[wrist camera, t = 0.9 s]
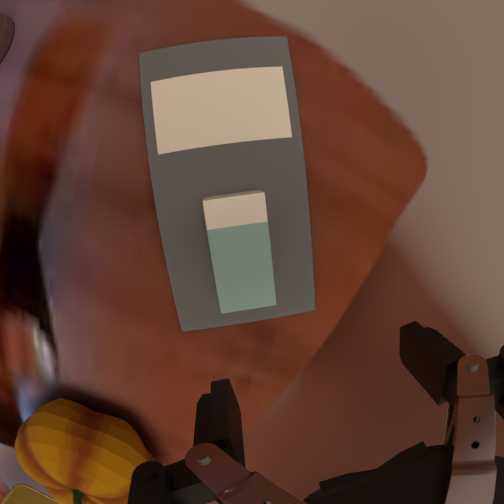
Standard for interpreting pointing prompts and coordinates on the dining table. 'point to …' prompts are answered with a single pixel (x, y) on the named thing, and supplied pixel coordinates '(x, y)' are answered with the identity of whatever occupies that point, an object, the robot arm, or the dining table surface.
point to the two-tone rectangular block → (240, 250)
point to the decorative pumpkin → (80, 453)
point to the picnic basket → (27, 496)
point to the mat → (226, 165)
